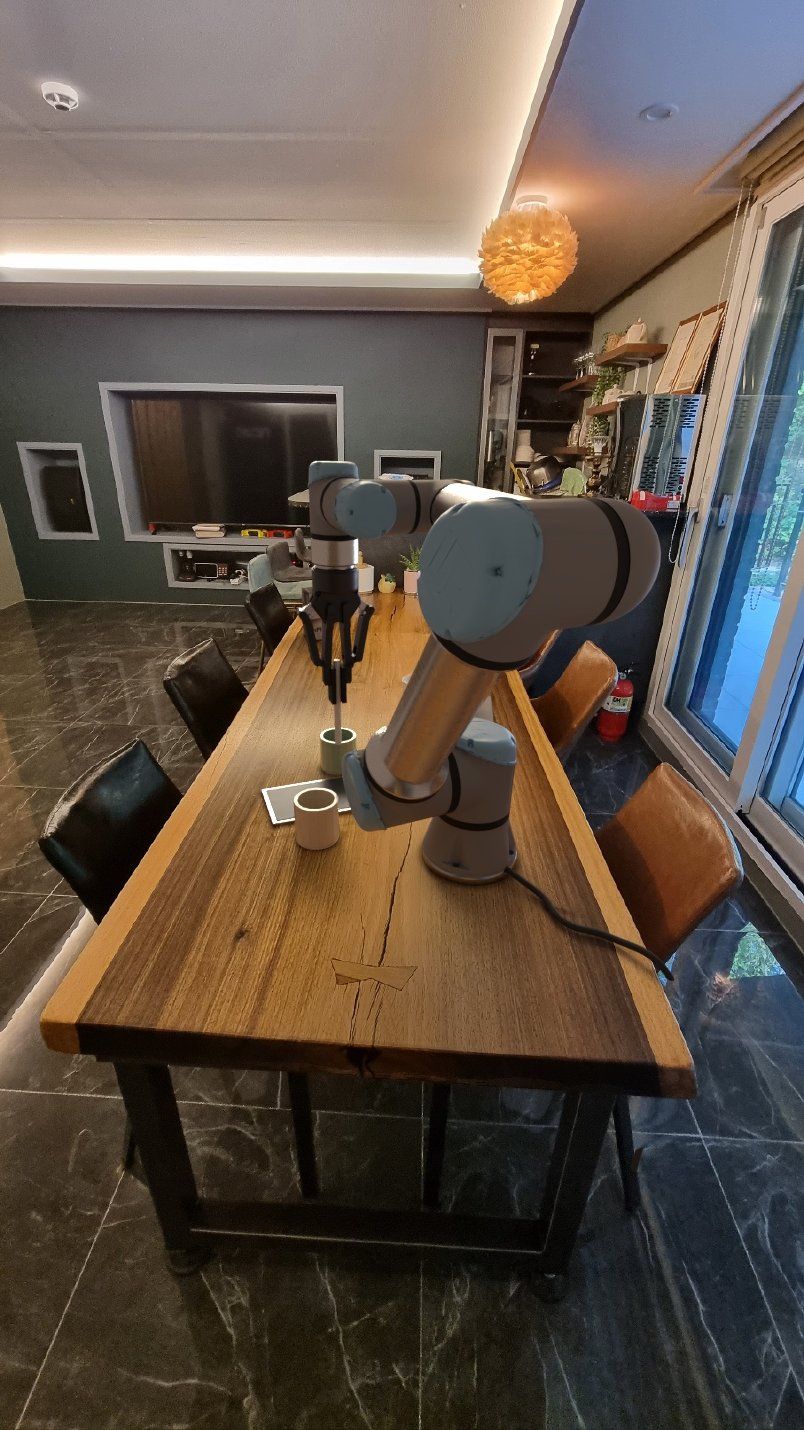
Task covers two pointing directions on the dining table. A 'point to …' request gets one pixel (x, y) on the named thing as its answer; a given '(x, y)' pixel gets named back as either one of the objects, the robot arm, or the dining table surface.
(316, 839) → the pen cup cream
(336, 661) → the stylus
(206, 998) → the dining table surface
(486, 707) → the platform
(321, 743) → the pen cup green
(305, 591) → the coffee box
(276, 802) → the tablet
